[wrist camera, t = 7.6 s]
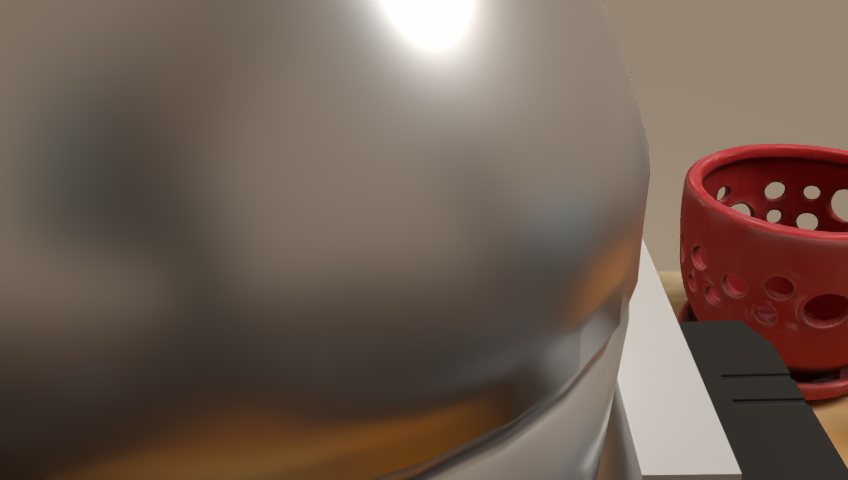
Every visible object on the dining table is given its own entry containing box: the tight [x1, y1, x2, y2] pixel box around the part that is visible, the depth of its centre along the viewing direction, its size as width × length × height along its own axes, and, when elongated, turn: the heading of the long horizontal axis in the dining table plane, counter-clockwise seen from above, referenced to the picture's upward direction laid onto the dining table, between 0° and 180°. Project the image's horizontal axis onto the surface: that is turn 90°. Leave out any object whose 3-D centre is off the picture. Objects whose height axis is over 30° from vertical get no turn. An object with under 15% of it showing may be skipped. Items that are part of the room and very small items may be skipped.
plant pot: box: [678, 144, 848, 400], centre depth 45 cm, size 13×13×12 cm
